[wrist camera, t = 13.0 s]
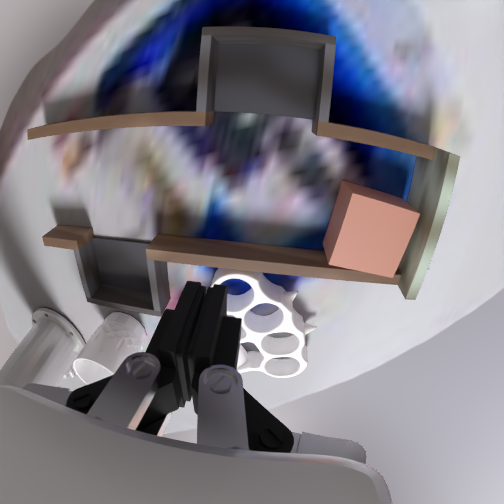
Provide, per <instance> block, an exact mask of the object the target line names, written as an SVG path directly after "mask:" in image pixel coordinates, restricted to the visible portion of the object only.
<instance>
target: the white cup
mask: <svg viewBox="0 0 504 504" xmlns="http://www.w3.org/2000/svg"><path fill="white" fill-rule="evenodd" d="M146 338H147V336H146V332H145V329H144V328H143V326H142V325H141V324H140V322H139V321H137V320H136V319H135V318H133V317H132V316H130V315H128V314H125V313H122V312H112V313H111V314H110V315H108V316H107V317H106V319H105V320H104V321H103V323H102V324H101V325H100V326H99V327H98V328H97V330H96V331H95V332H94V334H93V335H92V336H91V337H90V339H89V340H88V341H87V343H86V344H85V346H84V347H83V348H82V350H81V351H80V353H79V354H78V356H77V357H76V358H75V360H74V361H73V367H74V370H75V372H76V373H77V375H78V376H79V377H80V379H81V380H82V381H83V382H85V383H86V384H87V385H88V384H91V383H94V382H96V381H99V380H101V379H104V378H106V377H109V376H111V375H114V374H115V372H116V371H117V369H118V368H119V366H120V365H121V364H122V362H123V361H124V360H125V359H126V358H127V357H128V356H130V355H131V354H134V353H137V352H141V351H142V348H143V345H144V343H145V340H146Z"/></svg>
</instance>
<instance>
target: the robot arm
mask: <svg viewBox="0 0 504 504" xmlns="http://www.w3.org/2000/svg"><path fill="white" fill-rule="evenodd" d="M32 324H33V328H32V329H31V330H30V331H29V332H28V334H27V335H26V336H25V338H24V339H23V340H22V341H21V343H20V344H19V345H18V347H17V348H16V349H15V351H14V352H13V353H12V355H11V356H10V357H9V359H8V360H7V362H6V363H5V364H4V366H3V367H2V369H1V370H0V504H392V499H391V495H390V492H389V489H388V486H387V484H386V482H385V480H384V478H383V476H382V475H381V474H380V473H379V472H378V471H377V470H375V469H374V468H372V467H370V466H368V465H365V463H366V451H365V449H364V448H363V446H362V445H360V444H359V443H358V442H354V441H352V440H344V439H338V438H331V437H325V436H320V435H315V434H310V433H305V432H302V433H301V434H299V433H294V432H291V431H290V430H289V429H288V428H287V427H286V426H285V425H284V424H283V423H281V422H280V421H279V420H278V419H277V418H276V417H274V416H273V415H272V414H271V413H270V412H269V411H268V410H267V409H265V408H264V407H263V406H262V405H261V404H260V403H259V402H258V401H257V400H256V399H254V398H253V397H252V396H251V395H250V394H249V393H248V392H247V391H246V390H245V389H244V388H243V381H242V377H241V375H240V373H239V372H238V371H237V363H238V355H239V348H240V338H241V326H242V318H235V317H227V285H219V284H214V285H213V287H208V290H207V293H206V289H205V286H201V283H200V282H192V281H187V283H186V285H185V287H184V289H183V292H182V294H181V296H180V298H179V301H178V303H177V305H176V308H175V310H171V309H166V310H165V311H164V313H163V315H162V317H161V319H160V321H159V324H158V326H157V328H156V330H155V332H154V334H153V337H152V339H151V341H150V343H149V345H148V348H147V350H146V352H137V353H134V354H131V355H130V356H128V357H127V358H126V359H125V360H124V361H123V362H122V364H121V365H120V366H119V368H118V369H117V371H116V372H115V374H114V375H111V376H109V377H106V378H104V379H101V380H99V381H96V382H94V383H91V384H88V385H86V386H83V387H81V388H78V389H76V390H74V391H70V389H67V388H60V387H58V385H59V383H60V382H61V380H62V378H67V377H68V376H70V377H74V376H75V373H74V371H73V369H72V367H73V361H74V360H75V358H76V357H77V356H78V354H79V353H80V351H81V350H82V348H83V347H84V346H85V342H84V340H83V338H82V337H81V335H80V334H79V332H78V331H77V330H76V329H75V328H74V326H73V325H72V324H71V323H70V322H69V321H68V320H66V319H65V318H64V317H63V316H61V315H60V314H58V313H57V312H55V311H53V310H50V309H47V308H39V309H37V310H36V311H35V312H34V313H33V315H32ZM191 397H192V398H193V404H194V410H195V413H196V414H197V415H198V422H197V444H195V443H189V442H184V441H179V440H174V439H169V438H164V437H162V436H163V434H164V431H165V429H166V427H167V425H168V423H169V421H170V419H171V416H172V412H173V411H175V410H177V409H179V407H184V406H185V402H186V401H190V400H191Z"/></svg>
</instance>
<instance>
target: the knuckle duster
mask: <svg viewBox="0 0 504 504" xmlns="http://www.w3.org/2000/svg"><path fill="white" fill-rule="evenodd" d="M232 278H236V279H241V280H244V281H246V282H247V283H249V284H250V285H251V287H252V288H251V289H250V290H248V291H247V292H246V293H244V294H242V295H230V294H228V293H227V314H228V315H233V316H234V317H236V318H242V326H241V338H240V348H239V355H238V363H237V371H238V372H239V373H243V372H247V371H251V370H256V371H262V372H264V373H266V374H268V375H270V376H273V377H278V378H287V377H292V376H295V375H298V374H299V373H301V372H302V371H303V370H304V369H305V368H306V366H307V363H308V356H307V346H306V345H305V335H306V334H307V333H309V332H310V331H312V330H313V329H315V328H316V326H313V325H310V324H307V323H304V322H303V316H301V315H300V314H298V313H297V312H296V311H295V309H294V308H293V304H292V302H293V300H294V298H295V296H296V295H297V293H298V291H290V292H287V291H286V290H285V289H284V288H283V287H282V286H278V285H275V284H273V283H271V282H270V281H269V280H267V279H266V277H265V276H264V275H263V273H262V272H254V271H244V270H235V269H226V268H218V269H217V270H216V272H215V275H214V278H213V281H212V284H211V286H210V287H213V285H214V284H219V285H220V284H221V283H222V282H224V281H225V280H227V279H232ZM261 303H270V304H274V305H276V306H278V307H279V309H278V310H277V311H275V312H274V313H272V314H270V315H267V316H260V315H256V314H254V313H252V312H251V311H250V309H251V308H252V307H254V306H255V305H258V304H261ZM278 332H288V333H292V334H293V335H292V336H289V337H284V338H273V337H270V336H268V334H271V333H278ZM244 342H252V343H254V344H255V345H256V346H257V348H258V349H259V351H258V352H255V351H249V352H246V350H245V349H244V348H243V346H242V345H241V343H244ZM277 357H292V358H289V359H274V358H277Z"/></svg>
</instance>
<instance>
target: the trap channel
mask: <svg viewBox="0 0 504 504" xmlns="http://www.w3.org/2000/svg"><path fill="white" fill-rule="evenodd" d="M335 45H336V37H335V36H330V35H324V34H318V33H311V32H304V31H296V30H287V29H277V28H262V27H203V28H202V38H201V49H200V61H199V75H198V90H197V108H196V111H163V112H143V113H129V114H117V115H107V116H99V117H91V118H83V119H77V120H70V121H64V122H59V123H53V124H48V125H43V126H39V127H35V128H31V129H28V130H27V132H28V140H29V139H35V138H40V137H46V136H52V135H59V134H66V133H73V132H81V131H90V130H100V129H112V128H126V127H145V126H207V125H211V124H214V115H215V111H221V112H243V113H257V114H269V115H280V116H289V117H297V118H305V119H312V120H313V126H312V133H314V134H315V135H317V136H323V137H330V138H336V139H342V140H348V141H353V142H358V143H363V144H368V145H373V146H378V147H383V148H387V149H391V150H396V151H400V152H404V153H408V154H412V155H416V156H417V157H416V162H415V167H414V172H413V177H412V181H411V186H410V190H409V195H408V199H407V203H409V204H410V205H411V206H412V207H413V208H414V209H415V210H416V211H418V212H419V213H420V216H419V218H418V221H417V223H416V226H415V228H414V231H413V233H412V236H411V238H410V240H409V243H408V245H407V248H406V250H405V252H404V254H403V257H402V259H401V261H400V263H399V265H398V268H397V270H396V272H395V274H394V276H393V278H390V277H386V276H381V275H376V274H371V273H366V272H362V271H357V270H352V269H347V268H343V267H338V266H333V265H329V264H328V261H327V257H326V254H325V251H320V250H311V249H301V248H292V247H283V246H273V245H263V244H254V243H244V242H234V241H224V240H214V239H204V238H194V237H183V236H173V235H163V234H157V236H156V237H155V238H154V239H153V240H152V242H151V243H147V242H137V241H128V240H118V239H109V238H99V237H94V235H93V229H92V228H87V227H75V226H64V225H57V226H56V227H55V228H53V229H52V230H51V231H49V232H48V233H47V234H45V235H44V236H43V237H42V238H43V242H44V245H45V246H52V247H59V248H66V249H73V250H74V253H75V257H76V262H77V266H78V270H79V274H80V277H81V281H82V285H83V288H84V292H85V295H86V298H87V302H90V303H95V304H99V305H104V306H108V307H113V308H118V309H123V310H128V311H133V312H138V313H144V314H149V315H155V316H162V314H163V312H164V310H165V308H166V306H167V304H168V302H169V300H170V292H169V282H168V272H167V262H174V263H182V264H191V265H199V266H208V267H217V268H226V269H235V270H244V271H254V272H263V273H273V274H283V275H293V276H303V277H314V278H324V279H335V280H346V281H357V282H369V283H381V284H393V285H398V286H399V288H400V290H401V292H402V294H403V296H404V298H405V299H410V300H415V299H416V297H417V294H418V292H419V290H420V287H421V285H422V282H423V280H424V277H425V275H426V272H427V270H428V267H429V265H430V262H431V259H432V256H433V254H434V251H435V248H436V245H437V242H438V239H439V236H440V233H441V230H442V227H443V223H444V220H445V217H446V213H447V210H448V206H449V202H450V199H451V195H452V191H453V187H454V183H455V178H456V174H457V169H458V164H459V160H460V156H457V155H455V154H452V153H450V152H447V151H444V150H442V149H439V148H436V147H433V146H431V145H428V144H424V143H421V142H417V141H414V140H410V139H406V138H403V137H399V136H395V135H391V134H387V133H382V132H378V131H373V130H369V129H364V128H359V127H354V126H349V125H344V124H338V123H332V122H328V121H329V112H330V103H331V93H332V82H333V71H334V59H335Z"/></svg>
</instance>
